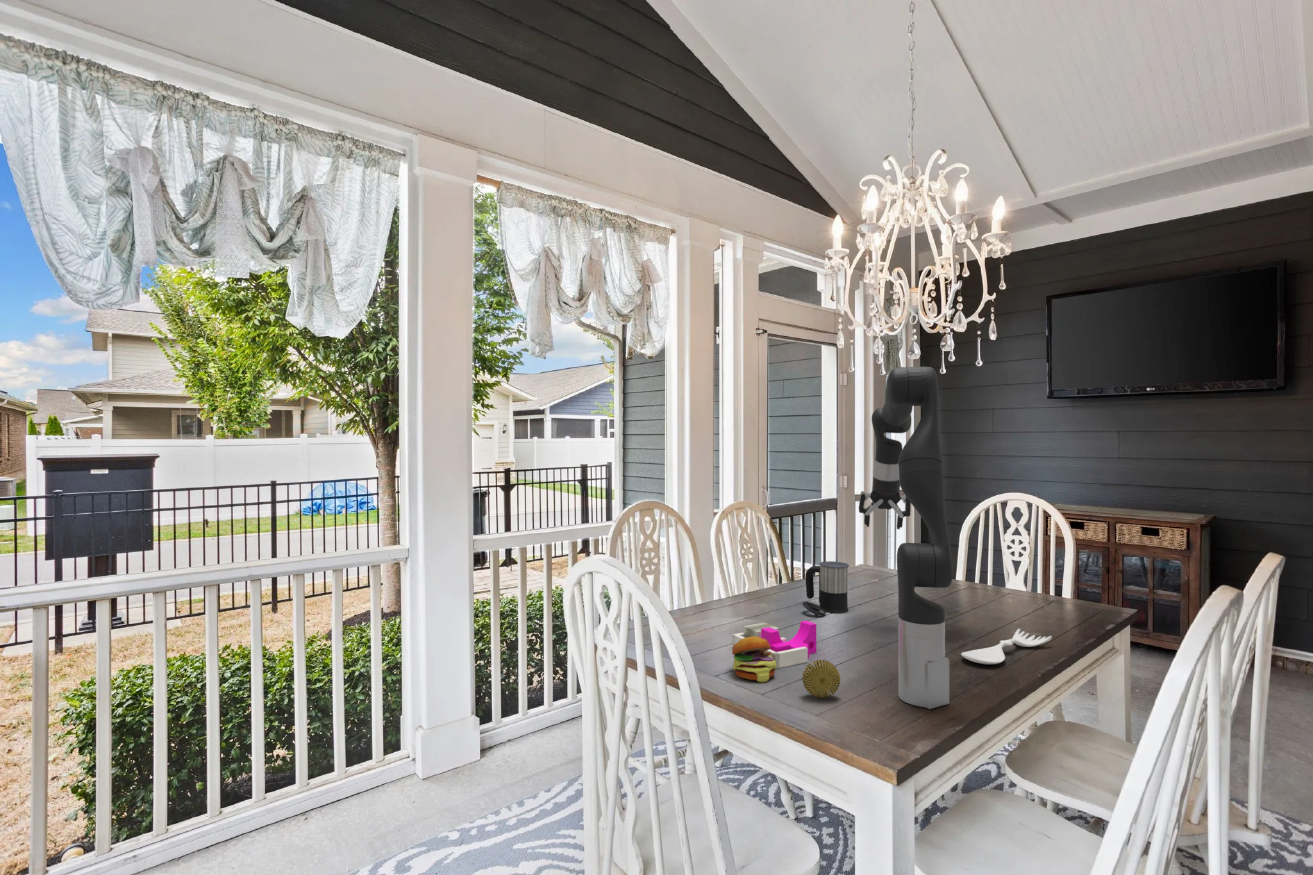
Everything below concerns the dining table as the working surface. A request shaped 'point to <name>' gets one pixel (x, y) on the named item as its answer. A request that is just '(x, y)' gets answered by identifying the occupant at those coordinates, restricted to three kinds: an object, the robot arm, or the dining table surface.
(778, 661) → the lane rack
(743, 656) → the cheeseburger
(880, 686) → the dining table surface
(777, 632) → the toy block
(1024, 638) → the white long tined part
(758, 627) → the sage block
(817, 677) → the sculpture
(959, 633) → the dining table surface
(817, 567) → the milk frother
